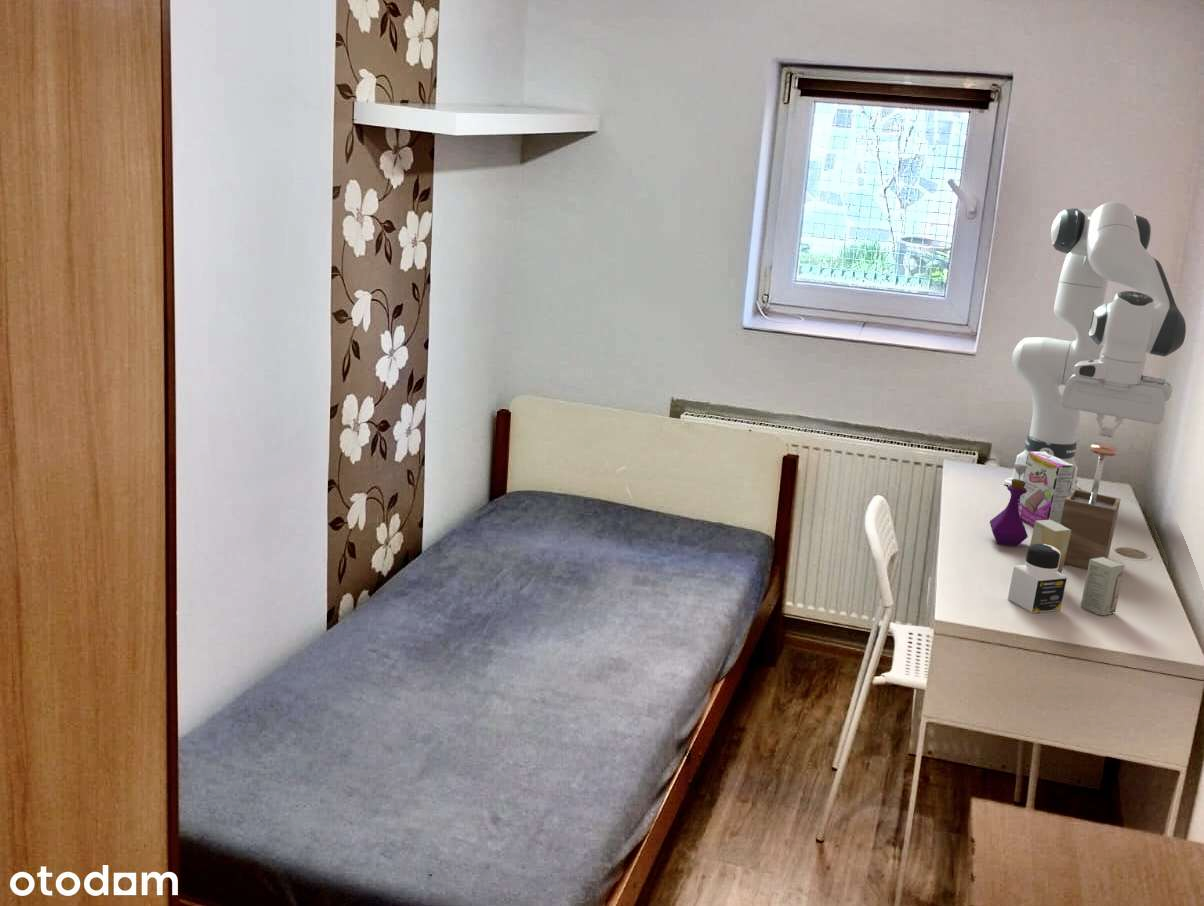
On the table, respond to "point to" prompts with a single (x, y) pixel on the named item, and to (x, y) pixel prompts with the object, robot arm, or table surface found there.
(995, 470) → the table surface
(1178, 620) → the table surface
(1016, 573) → the medicine bottle
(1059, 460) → the candy bar box
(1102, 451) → the table lamp
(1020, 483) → the perfume bottle
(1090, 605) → the skincare box
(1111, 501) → the wooden box
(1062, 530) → the skincare box
